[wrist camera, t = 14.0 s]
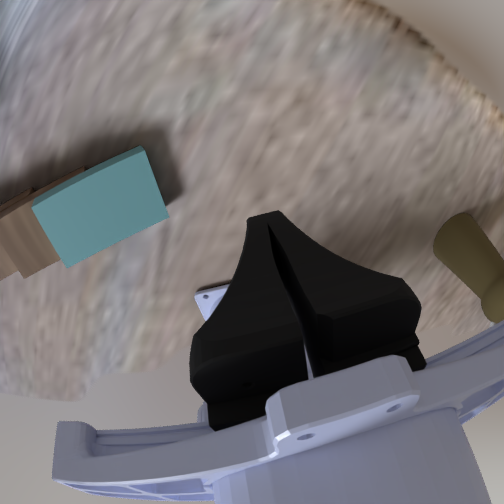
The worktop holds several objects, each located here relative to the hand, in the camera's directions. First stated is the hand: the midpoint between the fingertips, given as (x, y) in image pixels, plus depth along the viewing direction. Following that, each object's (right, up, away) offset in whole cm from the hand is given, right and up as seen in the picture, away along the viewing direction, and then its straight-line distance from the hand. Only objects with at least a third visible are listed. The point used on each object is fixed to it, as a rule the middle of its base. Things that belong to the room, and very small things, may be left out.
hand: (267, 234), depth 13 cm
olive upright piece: (+21, +1, +16) cm, 26 cm away
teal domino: (-7, +4, +7) cm, 11 cm away
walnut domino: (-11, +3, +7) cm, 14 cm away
